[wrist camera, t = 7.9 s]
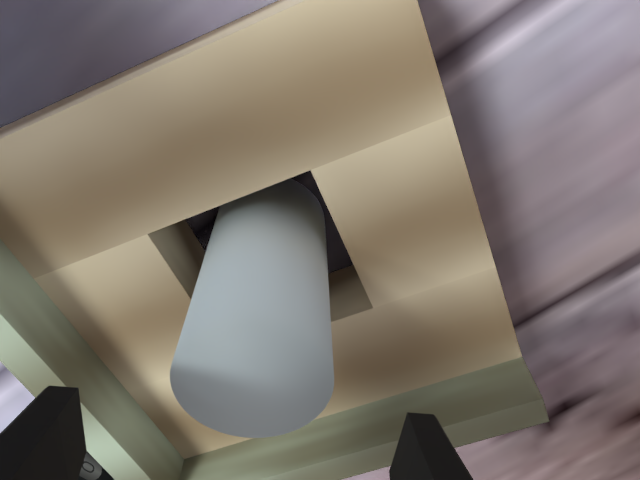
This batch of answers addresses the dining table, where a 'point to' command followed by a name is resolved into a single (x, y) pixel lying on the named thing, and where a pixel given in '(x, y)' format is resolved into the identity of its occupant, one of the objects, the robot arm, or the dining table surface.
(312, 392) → the peg
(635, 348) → the dining table surface
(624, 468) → the dining table surface
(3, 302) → the socket block
